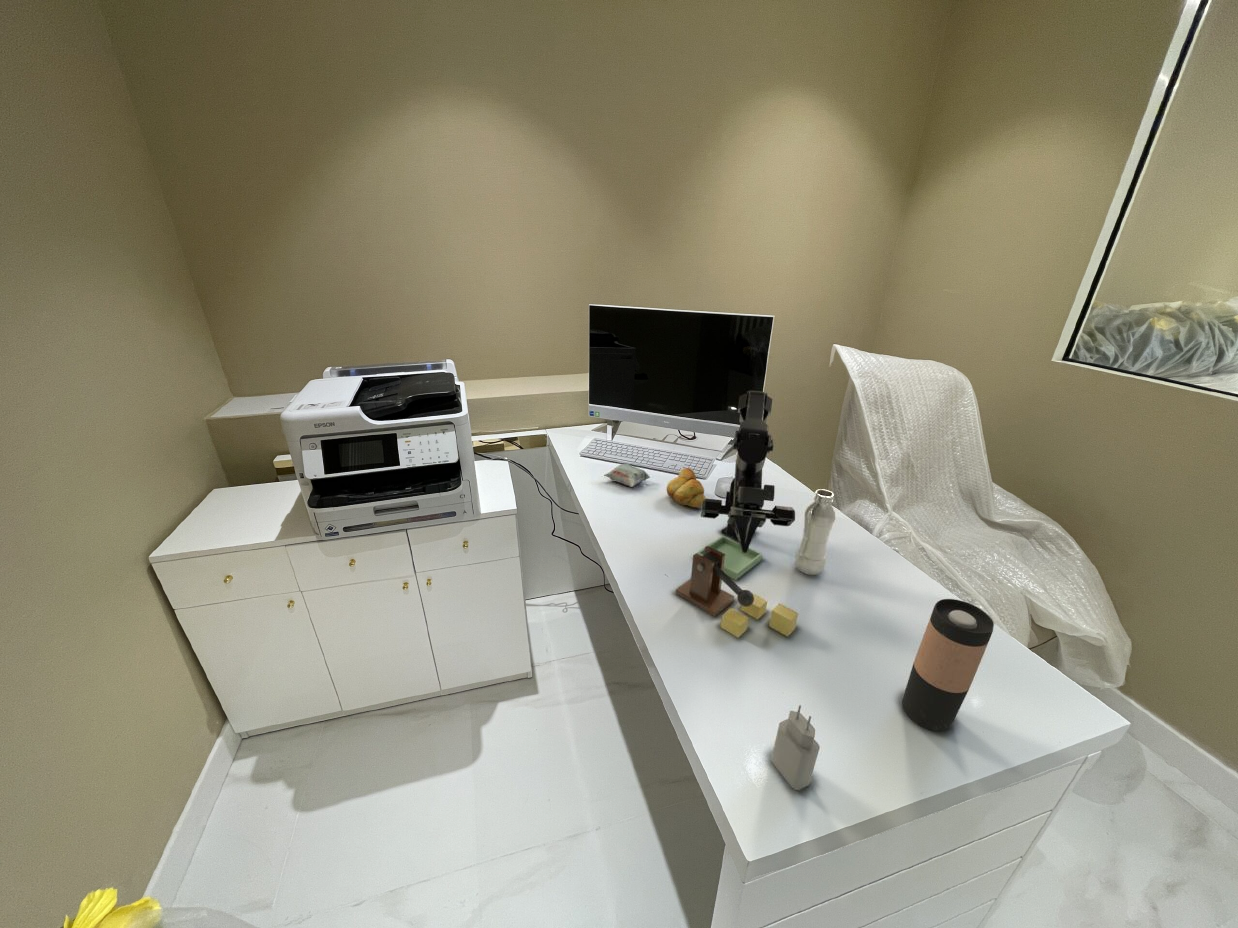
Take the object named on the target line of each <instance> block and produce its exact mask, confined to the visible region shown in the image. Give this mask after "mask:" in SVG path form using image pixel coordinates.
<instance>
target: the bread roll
mask: <svg viewBox="0 0 1238 928" xmlns="http://www.w3.org/2000/svg"><path fill="white" fill-rule="evenodd" d="M666 493H667V496H669V498H671V499H673V500H674V501H675V502H676V503H678V504H679V505H683V506H688V507H690V508H701V507H702V502H703V500H704V499H707V498H706V496H705V488H704V486H703V484H702V482H701V481H700V480H698V479H697V475H696V473H695V471H694V470H693V469H691V468H689V467H688V468H687V467H686V468H683V469H682V470H680V472H679V474H678V475H677V477H674V478H673V479H671V480H670V481H669V482H668V483H667V485H666Z"/></svg>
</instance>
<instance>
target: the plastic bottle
mask: <svg viewBox="0 0 1238 928" xmlns="http://www.w3.org/2000/svg"><path fill="white" fill-rule="evenodd" d="M833 499H834V492H832V491H830V490H828V489H821V488H819V489H816V491H815V493H814V497H813V500H814V501H813V502H811V503H810V504H809V505H808V506H806V509H805V510H804V519H803V521H804V522H803V533H802V538H801V542H800V544H799V547H798V549H797V552H796V554H795V558H794V559H795V561H794V562H795V566H796V567H797V569H798V571H800V572H801V573H803V574H806V575H812V576H814V575H818V574H820V573H821V572H823V570H824V568H825V566H826V551H827V543H828V540H829V537H830V533H831V531H832V528H833V527H834V524H835V521H836V511H835V510H834V507H833V506H832V504H833V503H834V500H833Z"/></svg>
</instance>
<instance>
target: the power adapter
mask: <svg viewBox="0 0 1238 928" xmlns="http://www.w3.org/2000/svg"><path fill="white" fill-rule="evenodd" d="M801 708H802V705H801V704H799V705H798V708H797V711H795V710H790V711H789V712H788V713H789V714H788V718H786V719H784V720H782V721H780V722H779V723H778V727H777V732H776V737H775V740H774V746H773V750H772V754H771V758H770V760H771V763H772V764H773V765H774V767H775V768H776V769H777V771H778V772H779V773H780V774H781V776H782V777H783V779H785V781H786V782H787V784H788V785H789V787H791V788H792V789H793V790H794V791H801V790H802V789H804V788H806V787H808V786H809V785H810V784H811V780H812V777H813V773H814V770H815V766H816V762H817V759H818V755H819V752H820V748H821V746H820V744H819V742H817V740H815V737H816V728H815V727H814V726H813V724H811V719H812V716H811V715H808V719H807V718H806V717H805V716H804V715H803V714H802V713H801Z"/></svg>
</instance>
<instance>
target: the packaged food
mask: <svg viewBox="0 0 1238 928" xmlns="http://www.w3.org/2000/svg"><path fill="white" fill-rule="evenodd" d="M603 477H606V478H609V479H610V480H612V481H615V482H618V483H621V484H622V485H625V486H628V487H631V488H632V487H634V486H636V485H638V484H640V483H642V482H644V481H646V480H648V479H650V478H651V476H650V475H649V474H648V473H647V472H646V471H645V470H644V469H642V468H639V467H636V466H633V465H631V464H628V463H621V464H619V465H617V466H616V467H614V468H613V469H611V470H610V472H606V473H604V474H603Z"/></svg>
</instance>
